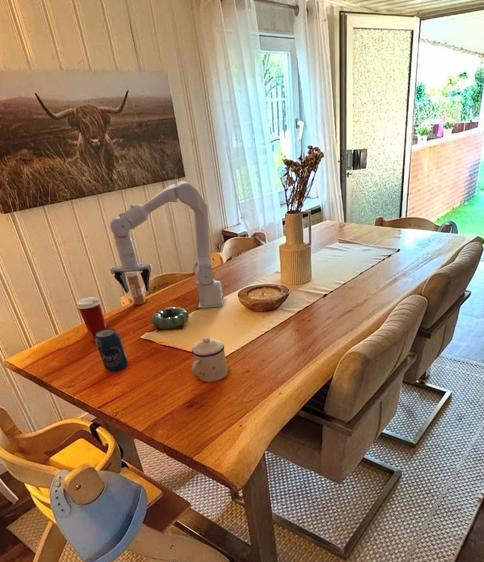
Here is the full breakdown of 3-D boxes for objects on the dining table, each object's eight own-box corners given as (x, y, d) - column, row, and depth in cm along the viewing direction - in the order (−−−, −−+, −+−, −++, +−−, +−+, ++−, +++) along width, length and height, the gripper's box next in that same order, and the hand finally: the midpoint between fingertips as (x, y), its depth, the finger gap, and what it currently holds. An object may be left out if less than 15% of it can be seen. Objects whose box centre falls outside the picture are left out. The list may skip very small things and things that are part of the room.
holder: (186, 318, 161) (183, 302, 157) (182, 329, 153) (178, 311, 149) (162, 320, 161) (158, 304, 157) (157, 331, 153) (153, 314, 150)
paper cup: (116, 334, 154) (104, 296, 146) (102, 344, 148) (88, 305, 140) (98, 332, 156) (85, 295, 148) (84, 342, 150) (69, 304, 142)
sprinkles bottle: (147, 302, 178) (138, 270, 170) (136, 305, 176) (127, 273, 168) (143, 299, 181) (134, 268, 173) (132, 302, 179) (123, 270, 172)
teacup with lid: (211, 364, 130) (204, 328, 124) (235, 370, 126) (229, 334, 119) (184, 383, 122) (175, 346, 115) (208, 390, 118) (200, 353, 111)
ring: (191, 313, 162) (189, 304, 160) (186, 328, 151) (184, 318, 149) (157, 316, 162) (154, 307, 160) (149, 331, 151) (146, 322, 149)
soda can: (106, 375, 129) (93, 339, 122) (105, 365, 134) (92, 330, 128) (130, 369, 131) (118, 333, 124) (127, 360, 136) (116, 325, 130)
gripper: (103, 258, 148) (115, 296, 156) (144, 255, 148) (154, 293, 156) (109, 253, 154) (120, 289, 162) (149, 249, 154) (158, 286, 162)
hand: (137, 291), depth 159 cm, fingers open, 7 cm apart
